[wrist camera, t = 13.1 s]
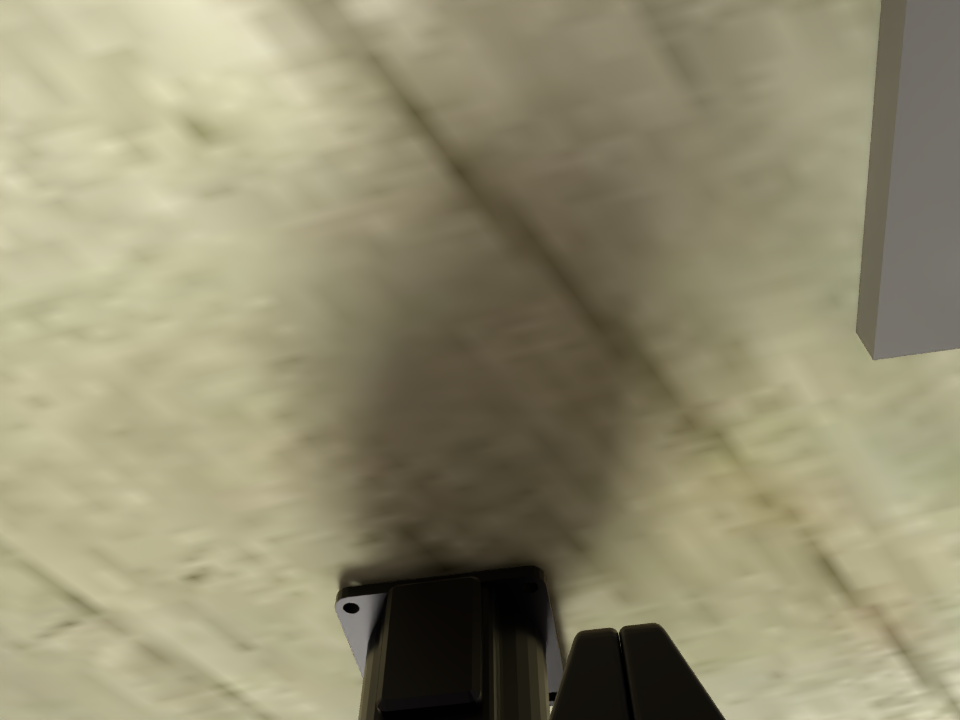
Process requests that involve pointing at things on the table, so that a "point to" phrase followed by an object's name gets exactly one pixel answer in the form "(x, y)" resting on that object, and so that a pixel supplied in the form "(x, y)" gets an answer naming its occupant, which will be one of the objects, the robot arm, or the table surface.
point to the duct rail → (913, 185)
